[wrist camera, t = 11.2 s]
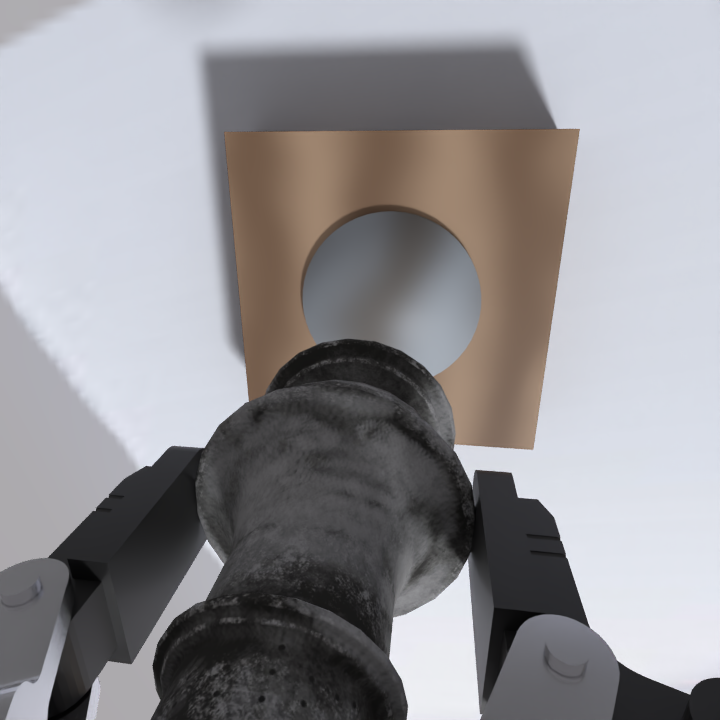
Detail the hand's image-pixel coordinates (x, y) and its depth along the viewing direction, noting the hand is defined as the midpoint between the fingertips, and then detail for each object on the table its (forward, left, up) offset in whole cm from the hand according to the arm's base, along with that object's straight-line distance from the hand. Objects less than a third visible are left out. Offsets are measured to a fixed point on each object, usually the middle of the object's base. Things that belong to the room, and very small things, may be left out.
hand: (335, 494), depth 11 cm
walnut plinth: (0, 0, -20) cm, 20 cm away
